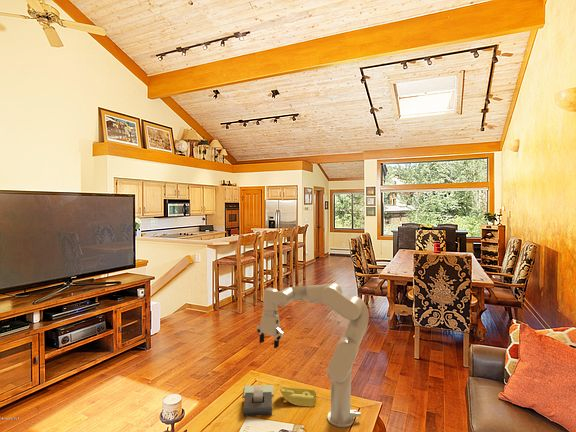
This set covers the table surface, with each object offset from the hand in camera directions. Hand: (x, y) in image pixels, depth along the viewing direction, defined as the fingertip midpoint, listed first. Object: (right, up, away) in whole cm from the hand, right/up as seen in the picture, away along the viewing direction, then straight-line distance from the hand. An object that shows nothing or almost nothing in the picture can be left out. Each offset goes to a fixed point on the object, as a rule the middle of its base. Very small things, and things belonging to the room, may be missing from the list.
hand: (268, 344), depth 172 cm
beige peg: (-5, -31, -4) cm, 31 cm away
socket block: (-5, -31, -4) cm, 31 cm away
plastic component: (+15, -31, +4) cm, 35 cm away
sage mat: (-6, -31, +11) cm, 33 cm away
